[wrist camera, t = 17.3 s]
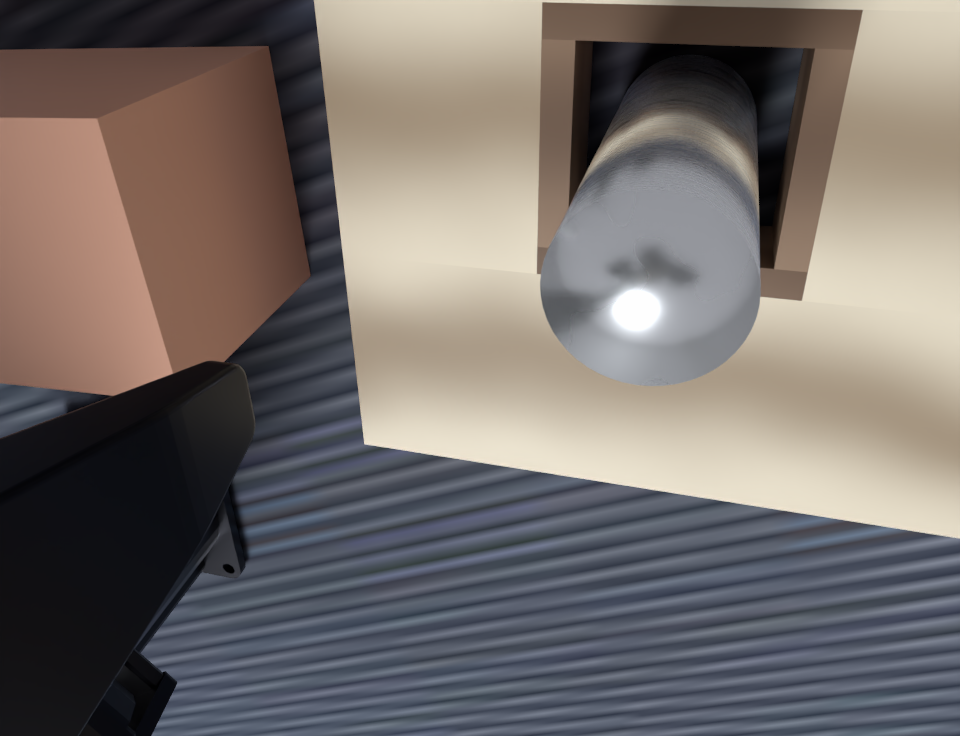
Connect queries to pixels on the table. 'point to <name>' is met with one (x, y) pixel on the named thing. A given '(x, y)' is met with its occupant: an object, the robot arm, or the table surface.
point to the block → (140, 212)
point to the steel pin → (663, 231)
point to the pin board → (547, 196)
